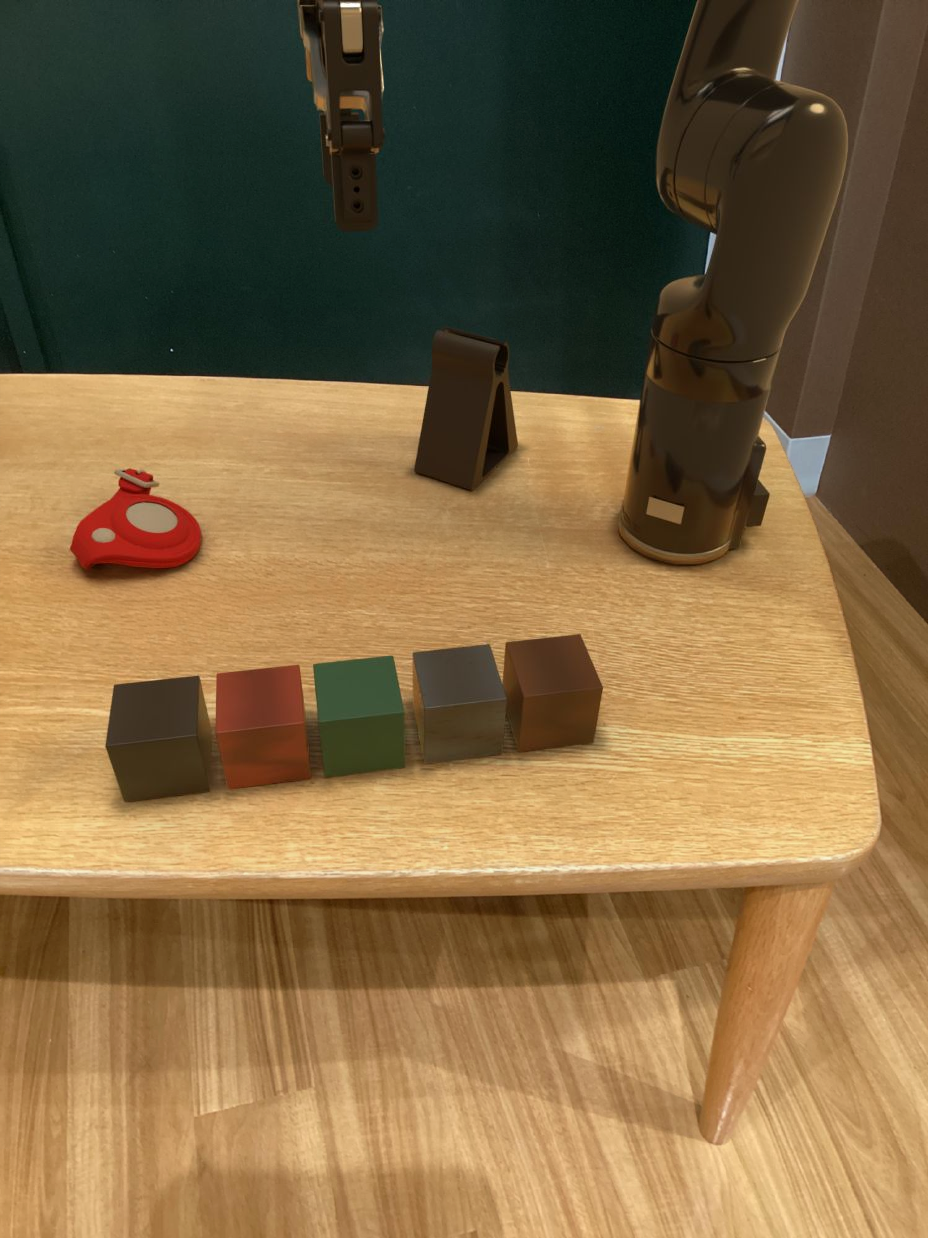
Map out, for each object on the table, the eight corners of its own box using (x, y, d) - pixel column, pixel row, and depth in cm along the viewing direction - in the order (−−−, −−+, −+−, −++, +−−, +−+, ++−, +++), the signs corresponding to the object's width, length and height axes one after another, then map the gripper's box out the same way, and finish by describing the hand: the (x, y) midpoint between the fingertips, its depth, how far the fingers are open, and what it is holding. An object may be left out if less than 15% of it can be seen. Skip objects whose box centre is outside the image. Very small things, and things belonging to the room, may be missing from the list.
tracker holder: (228, 536, 73) (110, 563, 66) (217, 577, 76) (103, 607, 69) (149, 447, 78) (31, 464, 71) (141, 489, 81) (27, 509, 74)
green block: (395, 710, 61) (393, 654, 58) (405, 768, 57) (404, 712, 54) (318, 719, 60) (312, 663, 57) (324, 778, 56) (318, 722, 53)
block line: (572, 688, 63) (580, 633, 60) (594, 743, 59) (603, 687, 56) (131, 740, 58) (113, 684, 55) (124, 803, 55) (104, 746, 51)
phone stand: (471, 492, 81) (475, 364, 73) (413, 472, 83) (412, 346, 76) (518, 448, 87) (526, 325, 79) (463, 431, 89) (466, 310, 82)
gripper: (437, -172, 37) (435, 245, 47) (392, -173, 47) (398, 167, 58) (245, -179, 36) (287, 250, 46) (243, -178, 46) (277, 170, 57)
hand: (349, 204), depth 52 cm, fingers open, 8 cm apart
